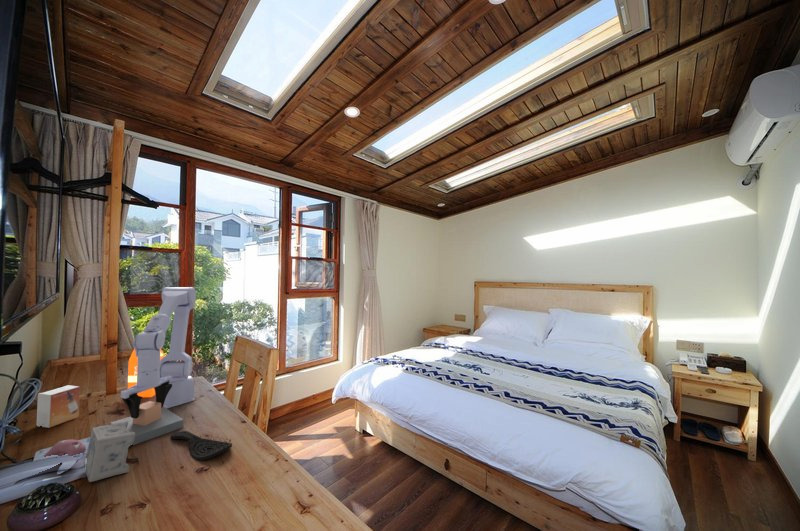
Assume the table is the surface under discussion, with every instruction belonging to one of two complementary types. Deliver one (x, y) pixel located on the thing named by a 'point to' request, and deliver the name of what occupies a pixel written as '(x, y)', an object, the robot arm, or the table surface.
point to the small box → (58, 406)
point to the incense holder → (108, 451)
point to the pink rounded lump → (66, 448)
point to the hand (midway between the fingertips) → (147, 412)
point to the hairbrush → (202, 445)
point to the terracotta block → (148, 413)
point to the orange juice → (133, 375)
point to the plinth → (153, 426)
